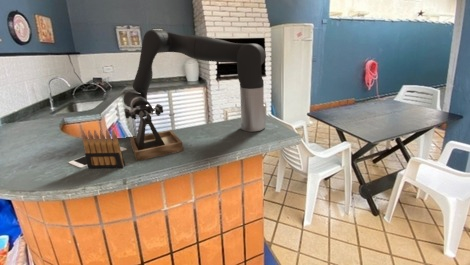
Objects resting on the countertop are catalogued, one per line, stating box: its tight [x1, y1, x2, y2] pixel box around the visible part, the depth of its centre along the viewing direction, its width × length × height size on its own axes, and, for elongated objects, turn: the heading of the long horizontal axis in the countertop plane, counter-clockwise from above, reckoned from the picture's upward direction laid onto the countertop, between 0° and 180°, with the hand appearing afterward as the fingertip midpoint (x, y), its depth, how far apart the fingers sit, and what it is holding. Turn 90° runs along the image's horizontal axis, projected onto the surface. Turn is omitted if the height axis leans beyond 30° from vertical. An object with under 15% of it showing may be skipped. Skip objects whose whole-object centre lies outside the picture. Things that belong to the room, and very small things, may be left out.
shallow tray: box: [129, 129, 184, 162], centre depth 87 cm, size 15×15×3 cm
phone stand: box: [135, 110, 165, 151], centre depth 84 cm, size 9×6×12 cm, turn 118°
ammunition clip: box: [81, 129, 126, 170], centre depth 72 cm, size 11×2×12 cm, turn 87°
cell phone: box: [68, 146, 128, 169], centre depth 83 cm, size 8×16×1 cm, turn 148°
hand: (146, 115), depth 93 cm, fingers open, 8 cm apart
